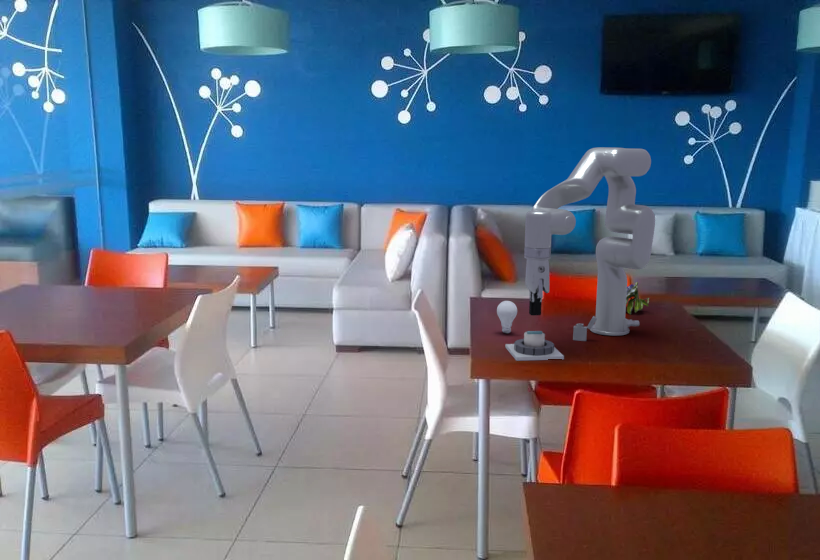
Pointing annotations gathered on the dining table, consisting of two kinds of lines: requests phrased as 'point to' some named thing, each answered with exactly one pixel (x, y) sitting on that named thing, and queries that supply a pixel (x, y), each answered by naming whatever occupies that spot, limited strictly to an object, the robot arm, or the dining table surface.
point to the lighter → (582, 330)
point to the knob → (534, 338)
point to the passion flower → (634, 299)
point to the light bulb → (506, 315)
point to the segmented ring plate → (533, 351)
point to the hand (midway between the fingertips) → (534, 314)
